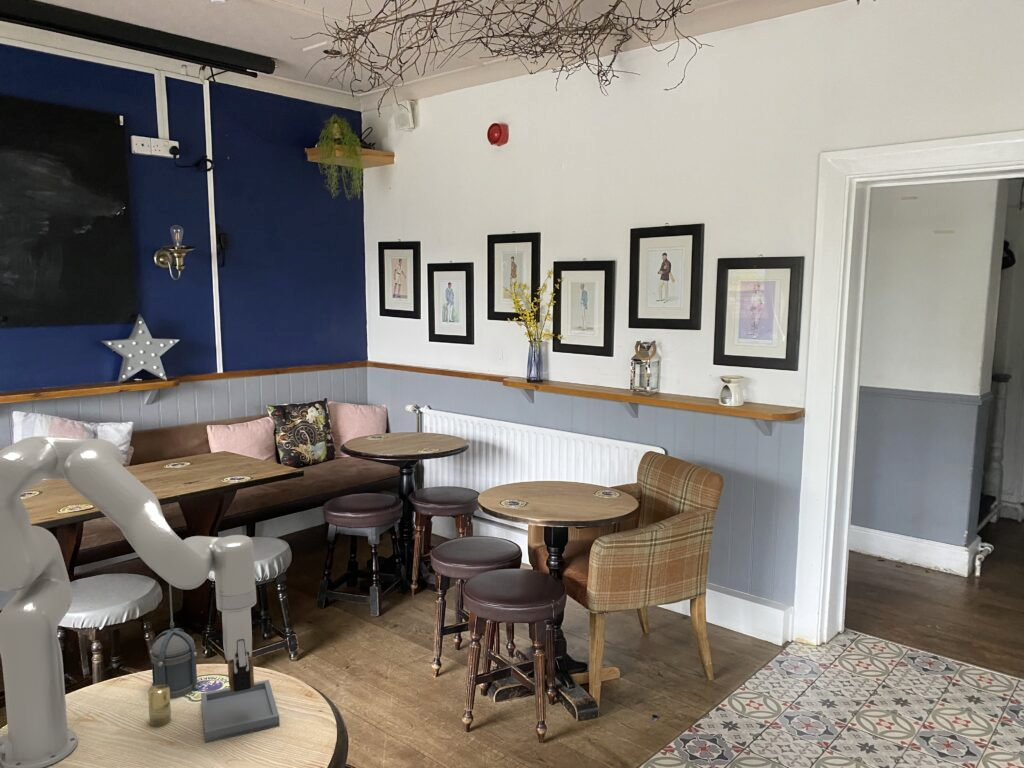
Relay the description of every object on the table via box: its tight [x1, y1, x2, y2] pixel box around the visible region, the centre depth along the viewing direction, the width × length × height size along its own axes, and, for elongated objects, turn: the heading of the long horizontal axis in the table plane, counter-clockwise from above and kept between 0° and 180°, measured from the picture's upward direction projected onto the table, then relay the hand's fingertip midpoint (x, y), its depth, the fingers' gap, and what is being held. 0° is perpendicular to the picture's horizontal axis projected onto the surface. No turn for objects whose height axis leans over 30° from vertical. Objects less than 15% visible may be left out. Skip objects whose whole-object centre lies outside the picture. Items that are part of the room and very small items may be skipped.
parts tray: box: [200, 679, 280, 744], centre depth 157 cm, size 14×16×2 cm
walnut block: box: [227, 653, 255, 692], centre depth 153 cm, size 4×4×6 cm
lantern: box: [149, 583, 200, 700], centre depth 166 cm, size 11×11×30 cm
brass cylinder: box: [147, 684, 172, 728], centre depth 154 cm, size 4×4×7 cm
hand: (241, 682), depth 153 cm, fingers closed on walnut block, 4 cm apart
